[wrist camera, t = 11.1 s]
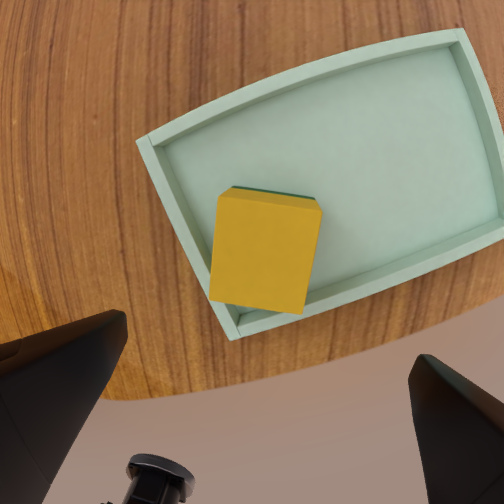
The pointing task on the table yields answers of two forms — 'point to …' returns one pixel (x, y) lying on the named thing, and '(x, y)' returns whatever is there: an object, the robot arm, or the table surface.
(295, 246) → the sponge
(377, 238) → the tray
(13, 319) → the table surface
